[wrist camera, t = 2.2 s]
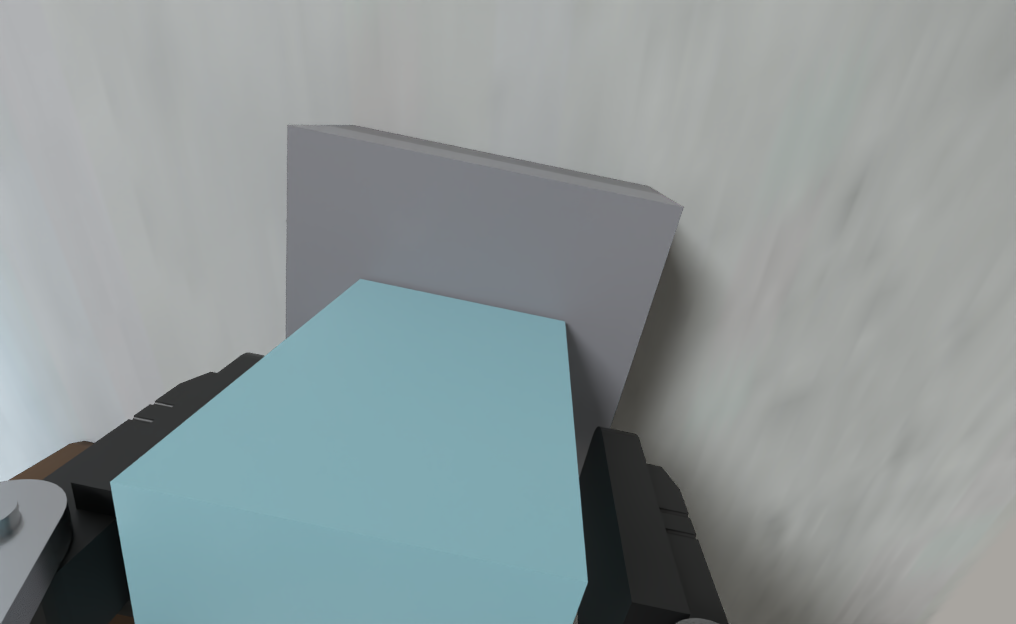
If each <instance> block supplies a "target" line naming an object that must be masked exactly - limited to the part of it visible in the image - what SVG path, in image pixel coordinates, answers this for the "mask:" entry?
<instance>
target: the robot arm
mask: <svg viewBox="0 0 1016 624" xmlns="http://www.w3.org/2000/svg"><path fill="white" fill-rule="evenodd" d="M263 357H265V356H263V355H259V354H254V353H245V354H243V355H241V356H240V357H238V358H237V359H236V360H234V361H233V362H232V363H230V364H229V365H228V366H226V367H225V368H224V369H222V370H221V371H220V372H218V373H214V372H209V373H207V374H204V375H201V376H199V377H196V378H193V379H191V380H188V381H186V382H183V383H180V384H179V385H177V386H176V387H174V388H173V389H171V390H170V391H169V392H167V393H166V394H164V395H163V396H161V397H160V398H159V399H157V400H156V401H155V404H154V405H151V404H150V405H149V406H147V407H146V408H144V409H143V410H141V411H140V412H139V413H137V414H136V415H134V418H133V420H129V419H128V420H127V421H126V422H124V423H123V424H121V425H120V426H118V427H117V428H116V429H114V430H113V431H111V432H110V433H108V434H107V435H106V436H104V437H103V438H101V439H100V440H98V441H97V442H96V443H94V444H93V445H91V446H90V447H88V448H87V449H85V450H84V451H83V452H81V453H80V454H78V455H77V456H75V457H74V458H73V459H71V460H70V461H68V462H67V463H65V464H64V465H63V466H61V467H60V468H58V469H57V470H55V471H54V472H53V473H51V474H50V475H48V476H47V477H45V478H44V479H43V480H35V479H19V480H10V481H3V482H0V624H108V623H109V622H110V621H111V620H112V619H113V618H114V617H115V616H116V614H119V615H124V616H129V617H133V618H134V616H133V610H132V605H131V599H130V593H129V587H128V582H127V576H126V570H125V565H124V559H123V553H122V548H121V542H120V536H119V530H118V525H117V519H116V513H115V508H114V502H113V496H112V491H111V485H110V482H111V481H112V480H113V479H114V478H116V477H117V476H118V475H119V474H120V473H122V472H123V471H124V470H125V469H127V468H128V467H129V466H130V465H132V464H133V463H134V462H135V461H136V460H138V459H139V458H140V457H141V456H143V455H144V454H145V453H146V452H148V451H149V450H150V449H151V448H152V447H154V446H155V445H156V444H157V443H159V442H160V441H161V440H162V439H164V438H165V437H166V436H167V435H169V434H170V433H171V432H172V431H173V430H175V429H176V428H177V427H178V426H180V425H181V424H182V423H183V422H185V421H186V420H187V419H188V418H189V417H191V416H192V415H193V414H194V413H196V412H197V411H198V410H199V409H201V408H202V407H203V406H204V405H205V404H207V403H208V402H209V401H210V400H212V399H213V398H214V397H215V396H217V395H218V394H219V393H220V392H221V391H223V390H224V389H225V388H226V387H228V386H229V385H230V384H231V383H233V382H234V381H235V380H236V379H238V378H239V377H240V376H241V375H242V374H244V373H245V372H246V371H247V370H249V369H250V368H251V367H252V366H254V365H255V364H256V363H257V362H258V361H260V360H261V359H262V358H263ZM579 486H580V498H581V509H582V521H583V532H584V544H585V555H586V567H587V578H588V583H587V586H586V589H585V591H584V594H583V597H582V600H581V602H580V605H579V608H578V624H728V621H727V618H726V616H725V613H724V610H723V607H722V605H721V602H720V599H719V596H718V594H717V591H716V588H715V585H714V583H713V580H712V577H711V574H710V572H709V569H708V566H707V563H706V561H705V558H704V555H703V552H702V550H701V547H700V544H699V541H698V540H696V539H695V536H696V533H695V530H694V528H693V525H692V522H691V519H690V518H688V511H687V508H686V506H685V503H684V500H683V497H682V495H681V492H680V489H679V488H678V487H677V486H676V484H675V483H674V482H673V481H672V479H671V478H670V477H669V476H668V475H667V473H666V472H665V471H664V470H663V468H662V467H660V466H655V465H650V464H646V461H645V457H644V454H643V450H642V447H641V443H640V440H639V437H638V436H637V435H636V434H633V433H628V432H624V431H619V430H614V429H609V428H604V427H600V426H598V427H597V428H596V429H595V431H594V433H593V436H592V439H591V442H590V445H589V449H588V452H587V455H586V458H585V461H584V464H583V467H582V471H581V474H580V477H579Z"/></svg>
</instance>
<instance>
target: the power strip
mask: <svg viewBox="0 0 1016 624" xmlns="http://www.w3.org/2000/svg"><path fill="white" fill-rule="evenodd" d="M683 208H684V207H683V206H681V205H679V204H678V203H676V202H674V201H673V200H671V199H669V198H668V197H666V196H664V195H663V194H661V193H659V192H658V191H656V190H654V189H652V188H651V187H649V186H645V185H640V184H635V183H630V182H625V181H621V180H616V179H611V178H606V177H601V176H596V175H592V174H587V173H582V172H577V171H572V170H568V169H563V168H558V167H553V166H548V165H543V164H539V163H534V162H529V161H524V160H519V159H514V158H510V157H505V156H500V155H495V154H490V153H485V152H481V151H476V150H471V149H466V148H461V147H457V146H452V145H447V144H442V143H437V142H432V141H428V140H423V139H418V138H413V137H408V136H403V135H399V134H394V133H389V132H384V131H379V130H375V129H370V128H365V127H360V126H355V125H288V138H287V255H286V339H287V338H288V337H289V336H290V335H292V334H293V333H294V332H295V331H297V330H298V329H299V328H300V327H302V326H303V325H304V324H305V323H307V322H308V321H309V320H310V319H311V318H313V317H314V316H315V315H316V314H318V313H319V312H320V311H321V310H323V309H324V308H325V307H326V306H327V305H329V304H330V303H331V302H332V301H334V300H335V299H336V298H337V297H339V296H340V295H341V294H342V293H343V292H345V291H346V290H347V289H348V288H350V287H351V286H352V285H353V284H355V283H356V282H357V281H358V280H359V279H364V280H369V281H373V282H378V283H383V284H388V285H393V286H397V287H402V288H407V289H412V290H417V291H421V292H426V293H431V294H436V295H441V296H445V297H450V298H455V299H460V300H465V301H469V302H474V303H479V304H484V305H489V306H493V307H498V308H503V309H508V310H513V311H517V312H522V313H527V314H532V315H537V316H541V317H546V318H551V319H556V320H561V321H565V326H566V338H567V349H568V361H569V372H570V384H571V395H572V406H573V418H574V429H575V441H576V452H577V464H578V475H579V477H580V474H581V471H582V467H583V464H584V461H585V458H586V455H587V452H588V449H589V445H590V442H591V439H592V436H593V433H594V431H595V429H596V428H597V427H598V426H600V427H604V428H609V429H610V427H611V424H612V421H613V418H614V415H615V412H616V409H617V406H618V403H619V400H620V397H621V394H622V391H623V388H624V385H625V382H626V379H627V376H628V373H629V370H630V367H631V364H632V361H633V358H634V355H635V352H636V349H637V346H638V343H639V340H640V337H641V334H642V331H643V328H644V325H645V322H646V319H647V316H648V313H649V310H650V307H651V304H652V301H653V298H654V295H655V292H656V289H657V286H658V283H659V280H660V277H661V274H662V271H663V268H664V265H665V262H666V259H667V256H668V253H669V250H670V247H671V244H672V241H673V238H674V235H675V232H676V229H677V226H678V223H679V220H680V217H681V214H682V211H683Z"/></svg>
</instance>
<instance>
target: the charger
mask: <svg viewBox="0 0 1016 624" xmlns="http://www.w3.org/2000/svg"><path fill="white" fill-rule="evenodd" d="M110 485H111V491H112V496H113V502H114V508H115V513H116V519H117V525H118V530H119V536H120V542H121V548H122V553H123V559H124V565H125V570H126V576H127V582H128V587H129V593H130V599H131V605H132V610H133V616H134V622H135V624H573V621H574V619H575V616H576V613H577V611H578V608H579V605H580V602H581V600H582V597H583V594H584V591H585V589H586V586H587V583H588V578H587V567H586V555H585V544H584V532H583V521H582V509H581V498H580V486H579V475H578V464H577V452H576V441H575V429H574V418H573V406H572V395H571V384H570V372H569V361H568V349H567V338H566V326H565V321H561V320H556V319H551V318H546V317H541V316H537V315H532V314H527V313H522V312H517V311H513V310H508V309H503V308H498V307H493V306H489V305H484V304H479V303H474V302H469V301H465V300H460V299H455V298H450V297H445V296H441V295H436V294H431V293H426V292H421V291H417V290H412V289H407V288H402V287H397V286H393V285H388V284H383V283H378V282H373V281H369V280H364V279H359V280H358V281H357V282H356V283H355V284H353V285H352V286H351V287H350V288H348V289H347V290H346V291H345V292H343V293H342V294H341V295H340V296H339V297H337V298H336V299H335V300H334V301H332V302H331V303H330V304H329V305H327V306H326V307H325V308H324V309H323V310H321V311H320V312H319V313H318V314H316V315H315V316H314V317H313V318H311V319H310V320H309V321H308V322H307V323H305V324H304V325H303V326H302V327H300V328H299V329H298V330H297V331H295V332H294V333H293V334H292V335H290V336H289V337H288V338H287V339H286V340H284V341H283V342H282V343H281V344H279V345H278V346H277V347H276V348H274V349H273V350H272V351H271V352H270V353H268V354H267V355H266V356H265V357H263V358H262V359H261V360H260V361H258V362H257V363H256V364H255V365H254V366H252V367H251V368H250V369H249V370H247V371H246V372H245V373H244V374H242V375H241V376H240V377H239V378H238V379H236V380H235V381H234V382H233V383H231V384H230V385H229V386H228V387H226V388H225V389H224V390H223V391H221V392H220V393H219V394H218V395H217V396H215V397H214V398H213V399H212V400H210V401H209V402H208V403H207V404H205V405H204V406H203V407H202V408H201V409H199V410H198V411H197V412H196V413H194V414H193V415H192V416H191V417H189V418H188V419H187V420H186V421H185V422H183V423H182V424H181V425H180V426H178V427H177V428H176V429H175V430H173V431H172V432H171V433H170V434H169V435H167V436H166V437H165V438H164V439H162V440H161V441H160V442H159V443H157V444H156V445H155V446H154V447H152V448H151V449H150V450H149V451H148V452H146V453H145V454H144V455H143V456H141V457H140V458H139V459H138V460H136V461H135V462H134V463H133V464H132V465H130V466H129V467H128V468H127V469H125V470H124V471H123V472H122V473H120V474H119V475H118V476H117V477H116V478H114V479H113V480H112V481H111V482H110Z"/></svg>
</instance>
